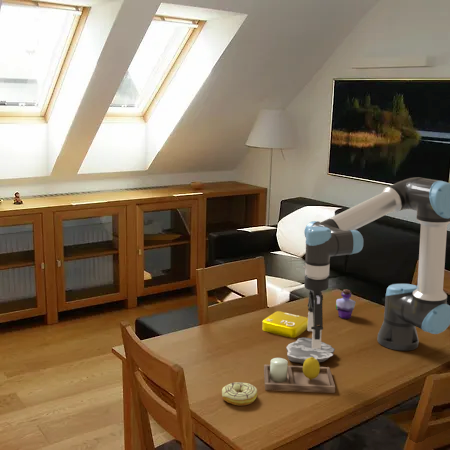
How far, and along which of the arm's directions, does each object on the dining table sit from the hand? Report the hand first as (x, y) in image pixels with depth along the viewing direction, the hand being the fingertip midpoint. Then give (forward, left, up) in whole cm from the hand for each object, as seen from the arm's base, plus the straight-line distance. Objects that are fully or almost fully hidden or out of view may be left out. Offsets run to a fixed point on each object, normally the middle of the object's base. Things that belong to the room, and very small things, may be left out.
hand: (313, 339), depth 187 cm
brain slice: (-2, -20, -15) cm, 25 cm away
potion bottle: (-21, -61, -15) cm, 66 cm away
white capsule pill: (+11, 0, -14) cm, 18 cm away
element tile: (+6, -45, -16) cm, 48 cm away
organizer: (+4, 0, -15) cm, 15 cm away
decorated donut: (+23, +13, -15) cm, 31 cm away
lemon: (0, 0, -14) cm, 14 cm away
